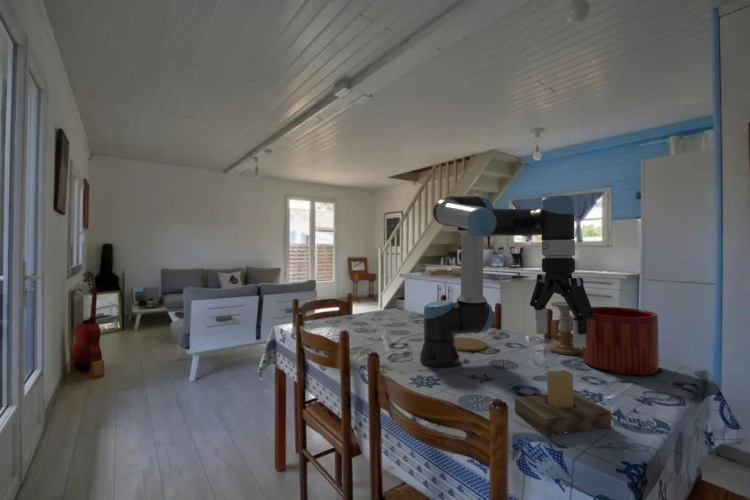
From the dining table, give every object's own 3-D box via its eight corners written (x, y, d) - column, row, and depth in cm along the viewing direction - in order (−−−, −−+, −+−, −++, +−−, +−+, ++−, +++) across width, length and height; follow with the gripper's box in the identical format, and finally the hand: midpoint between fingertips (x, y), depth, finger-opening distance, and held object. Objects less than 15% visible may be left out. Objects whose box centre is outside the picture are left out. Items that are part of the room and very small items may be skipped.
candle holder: (552, 354, 143) (551, 305, 144) (547, 346, 155) (546, 301, 155) (586, 356, 140) (585, 306, 140) (578, 348, 152) (577, 302, 152)
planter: (587, 353, 144) (586, 304, 144) (659, 364, 129) (658, 310, 129) (577, 368, 126) (576, 312, 126) (659, 382, 112) (657, 320, 112)
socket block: (544, 436, 81) (544, 418, 81) (515, 412, 93) (514, 397, 93) (611, 427, 84) (610, 411, 84) (574, 406, 96) (573, 391, 96)
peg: (547, 418, 89) (547, 371, 89) (565, 416, 90) (564, 370, 90) (556, 423, 86) (555, 375, 87) (573, 421, 87) (572, 374, 87)
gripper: (516, 256, 100) (517, 329, 100) (582, 258, 76) (584, 355, 76) (539, 256, 101) (540, 328, 102) (612, 257, 77) (613, 353, 77)
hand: (559, 340), depth 89 cm, fingers open, 13 cm apart
